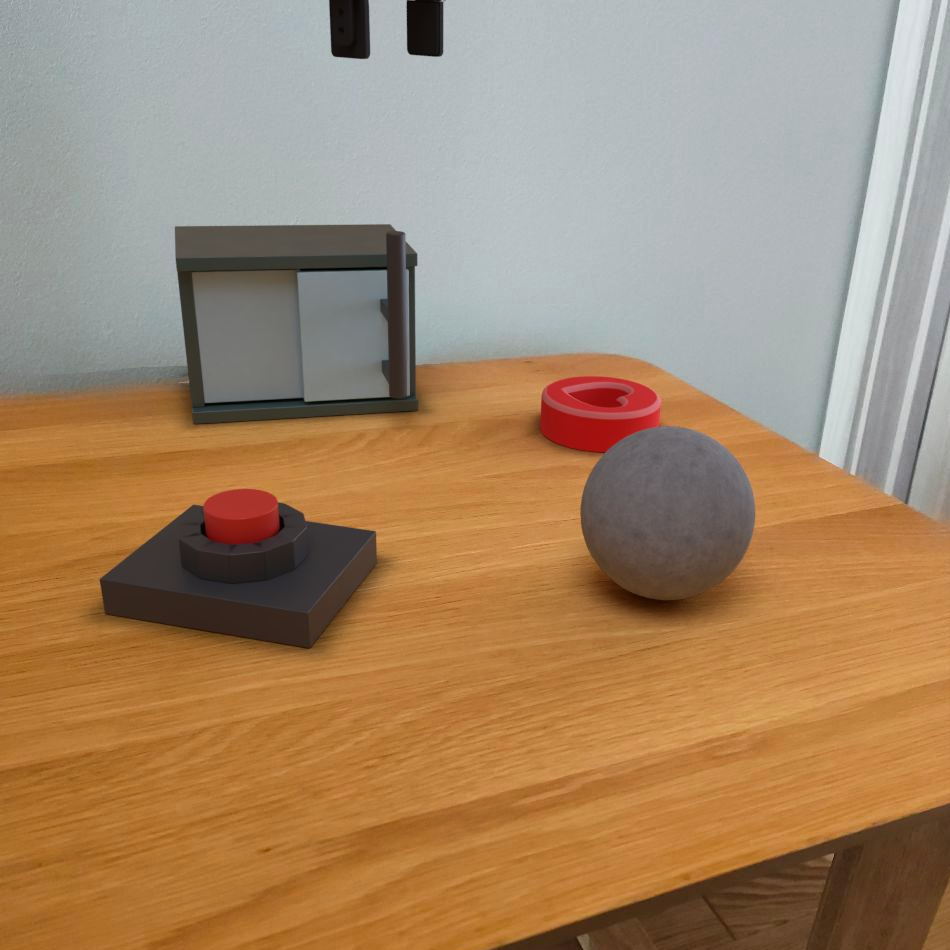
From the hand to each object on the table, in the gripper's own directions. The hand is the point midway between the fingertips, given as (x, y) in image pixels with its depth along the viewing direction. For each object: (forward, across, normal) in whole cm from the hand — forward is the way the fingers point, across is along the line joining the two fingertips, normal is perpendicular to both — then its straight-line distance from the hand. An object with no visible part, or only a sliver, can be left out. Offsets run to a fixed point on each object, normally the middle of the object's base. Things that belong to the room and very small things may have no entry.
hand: (389, 56), depth 82 cm
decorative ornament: (+27, 0, +20) cm, 34 cm away
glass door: (+25, +10, +4) cm, 27 cm away
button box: (+27, +35, +14) cm, 46 cm away
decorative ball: (+27, +22, +34) cm, 49 cm away
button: (+23, +35, +14) cm, 44 cm away
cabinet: (+27, +7, -5) cm, 28 cm away
